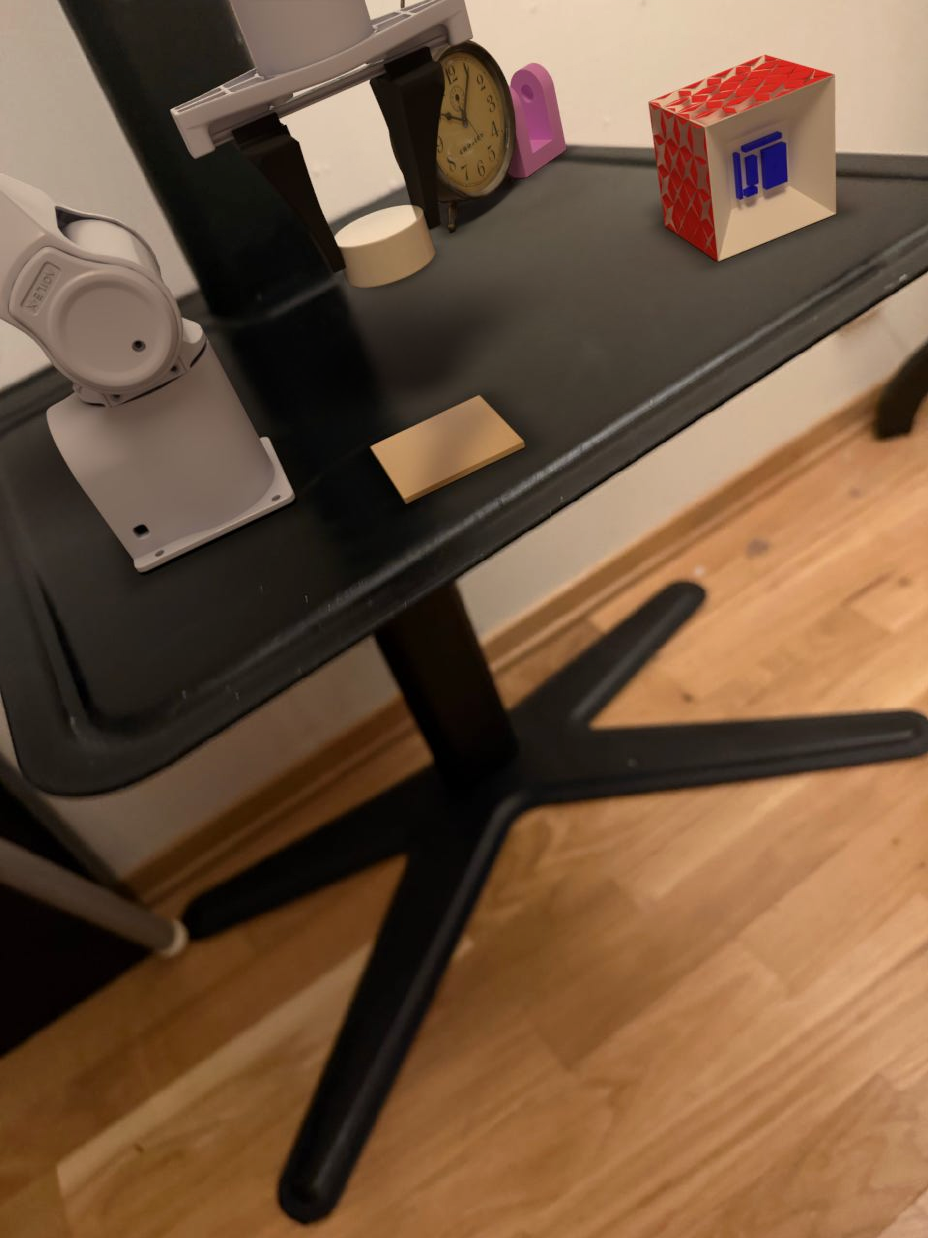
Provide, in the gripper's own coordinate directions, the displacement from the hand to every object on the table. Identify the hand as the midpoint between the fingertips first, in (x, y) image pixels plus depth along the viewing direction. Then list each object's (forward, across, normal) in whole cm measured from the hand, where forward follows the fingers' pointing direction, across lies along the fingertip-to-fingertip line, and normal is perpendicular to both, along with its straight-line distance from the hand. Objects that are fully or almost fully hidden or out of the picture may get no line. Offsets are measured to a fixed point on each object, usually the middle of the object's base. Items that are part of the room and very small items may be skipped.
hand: (383, 243), depth 48 cm
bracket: (+10, -19, -35) cm, 41 cm away
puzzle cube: (+10, -24, -3) cm, 26 cm away
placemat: (+9, +2, +6) cm, 11 cm away
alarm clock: (+10, -14, -27) cm, 31 cm away
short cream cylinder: (+1, 0, 0) cm, 1 cm away
